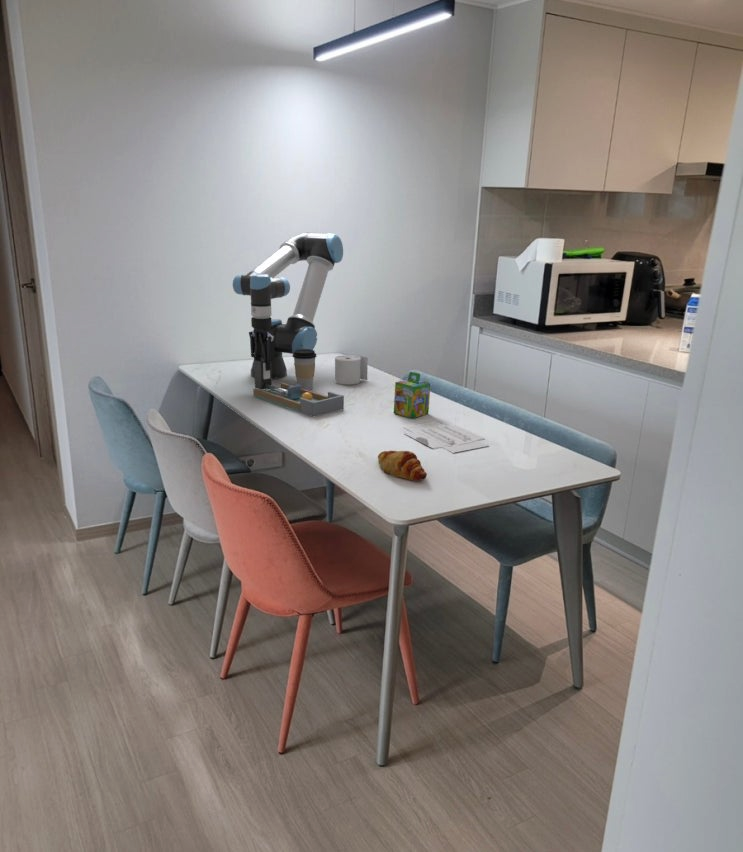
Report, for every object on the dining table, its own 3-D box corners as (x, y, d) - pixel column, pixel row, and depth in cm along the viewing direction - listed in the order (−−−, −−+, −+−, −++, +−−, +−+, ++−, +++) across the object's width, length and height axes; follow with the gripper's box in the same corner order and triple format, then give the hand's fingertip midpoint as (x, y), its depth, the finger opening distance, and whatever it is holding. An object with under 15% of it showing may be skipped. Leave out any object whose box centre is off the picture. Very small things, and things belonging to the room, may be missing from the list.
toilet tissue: (329, 381, 293) (329, 357, 290) (351, 376, 300) (351, 353, 297) (346, 386, 285) (346, 361, 282) (368, 381, 293) (368, 357, 290)
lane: (282, 389, 278) (282, 381, 277) (330, 405, 259) (330, 395, 258) (253, 396, 268) (252, 387, 267) (301, 412, 250) (300, 402, 249)
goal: (329, 404, 260) (329, 391, 258) (343, 409, 255) (343, 395, 253) (300, 412, 250) (299, 398, 248) (314, 416, 245) (313, 402, 243)
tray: (444, 422, 244) (444, 412, 243) (497, 449, 222) (498, 438, 221) (393, 431, 234) (394, 420, 233) (444, 461, 212) (445, 449, 210)
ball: (307, 400, 260) (307, 390, 259) (314, 403, 257) (314, 392, 256) (299, 402, 257) (299, 392, 256) (306, 405, 255) (306, 394, 254)
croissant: (371, 473, 206) (360, 453, 202) (395, 452, 209) (385, 432, 205) (417, 497, 189) (406, 475, 185) (443, 473, 193) (433, 451, 189)
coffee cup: (318, 386, 285) (318, 349, 280) (314, 392, 276) (314, 354, 271) (295, 384, 285) (294, 348, 281) (290, 391, 277) (290, 353, 272)
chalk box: (392, 413, 251) (394, 372, 246) (409, 408, 257) (411, 368, 252) (413, 419, 245) (414, 377, 240) (429, 414, 251) (431, 373, 246)
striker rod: (265, 385, 278) (264, 358, 274) (301, 397, 263) (301, 368, 260) (254, 388, 274) (254, 359, 271) (291, 399, 260) (290, 370, 256)
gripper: (239, 314, 269) (241, 374, 276) (267, 320, 258) (268, 383, 265) (255, 313, 274) (257, 372, 282) (283, 318, 263) (284, 380, 270)
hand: (263, 377), depth 273 cm, fingers closed on striker rod, 4 cm apart
